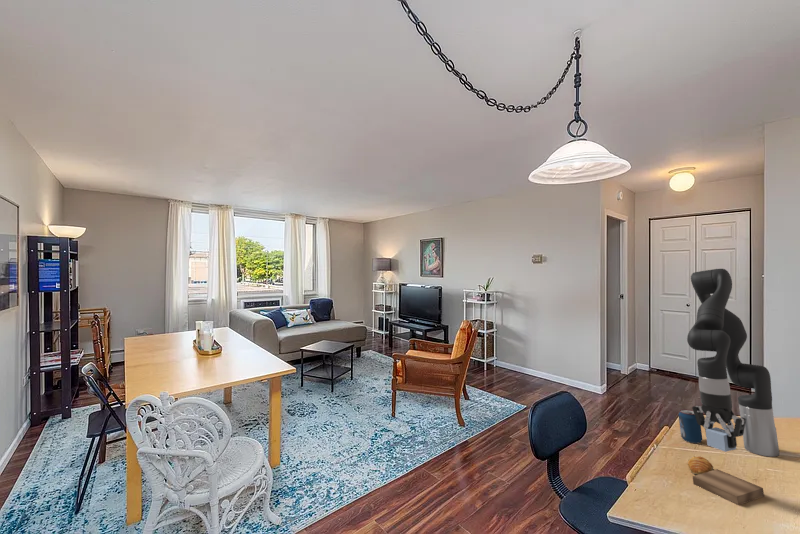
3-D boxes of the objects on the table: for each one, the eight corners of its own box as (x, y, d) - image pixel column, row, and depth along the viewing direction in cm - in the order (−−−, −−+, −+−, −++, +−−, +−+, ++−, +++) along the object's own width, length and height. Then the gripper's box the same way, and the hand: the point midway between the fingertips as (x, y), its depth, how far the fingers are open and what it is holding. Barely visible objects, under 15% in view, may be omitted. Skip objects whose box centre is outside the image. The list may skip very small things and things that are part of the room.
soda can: (706, 441, 140) (702, 412, 141) (696, 445, 138) (693, 415, 139) (687, 435, 147) (683, 407, 148) (677, 439, 144) (674, 410, 145)
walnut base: (718, 478, 115) (717, 469, 116) (764, 498, 104) (762, 487, 104) (693, 485, 112) (692, 476, 112) (738, 507, 100) (736, 496, 101)
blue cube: (718, 442, 112) (716, 427, 113) (736, 449, 107) (734, 432, 108) (707, 445, 111) (705, 429, 111) (725, 451, 106) (723, 435, 106)
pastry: (711, 480, 114) (710, 468, 114) (686, 473, 119) (684, 462, 119) (714, 469, 120) (712, 458, 121) (689, 463, 125) (688, 452, 125)
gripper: (749, 395, 105) (757, 451, 103) (698, 384, 118) (704, 434, 117) (733, 398, 103) (740, 456, 101) (682, 386, 116) (688, 437, 115)
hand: (721, 443), depth 109 cm, fingers closed on blue cube, 5 cm apart
